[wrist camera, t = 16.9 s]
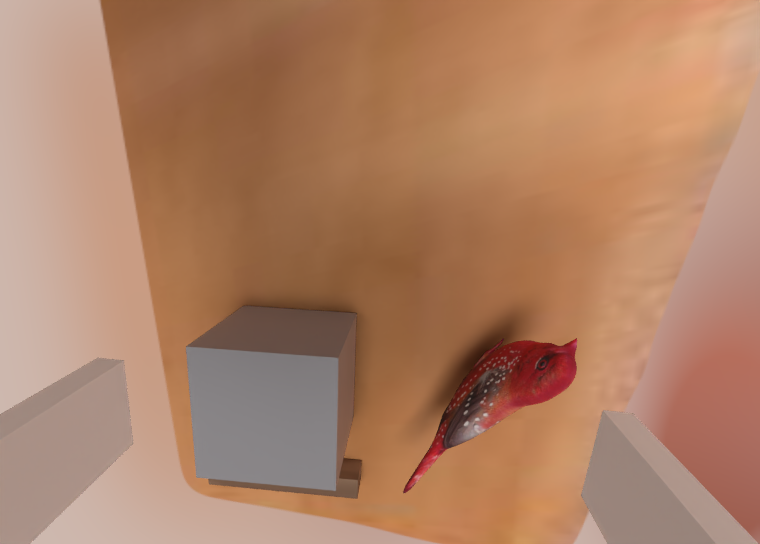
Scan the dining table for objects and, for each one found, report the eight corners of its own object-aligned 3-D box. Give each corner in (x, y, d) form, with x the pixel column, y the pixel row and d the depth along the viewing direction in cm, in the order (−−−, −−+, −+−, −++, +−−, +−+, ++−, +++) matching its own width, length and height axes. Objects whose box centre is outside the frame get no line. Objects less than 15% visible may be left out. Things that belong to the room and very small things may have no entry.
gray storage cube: (243, 305, 33) (185, 346, 24) (356, 313, 32) (338, 357, 24) (247, 407, 35) (196, 477, 27) (353, 416, 35) (335, 490, 26)
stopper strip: (221, 447, 36) (207, 465, 34) (361, 460, 36) (358, 480, 33) (222, 464, 37) (208, 484, 34) (360, 477, 36) (357, 498, 34)
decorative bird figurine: (548, 312, 31) (612, 368, 21) (415, 449, 35) (419, 550, 25) (522, 291, 31) (575, 338, 21) (391, 432, 35) (385, 527, 25)
